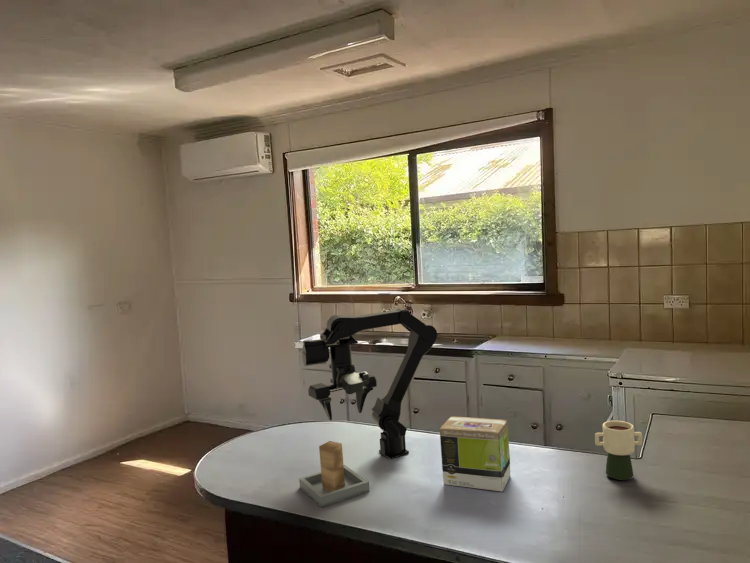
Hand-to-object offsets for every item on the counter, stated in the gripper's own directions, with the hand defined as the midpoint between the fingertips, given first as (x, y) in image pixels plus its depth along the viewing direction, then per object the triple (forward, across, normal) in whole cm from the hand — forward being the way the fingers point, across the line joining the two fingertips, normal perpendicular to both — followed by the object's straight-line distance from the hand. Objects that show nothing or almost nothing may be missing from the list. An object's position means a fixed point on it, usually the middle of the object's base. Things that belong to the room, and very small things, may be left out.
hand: (345, 416), depth 160 cm
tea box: (+13, +20, -31) cm, 39 cm away
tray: (+13, -11, -13) cm, 21 cm away
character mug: (+13, +48, -51) cm, 71 cm away
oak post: (+12, -11, -13) cm, 21 cm away
